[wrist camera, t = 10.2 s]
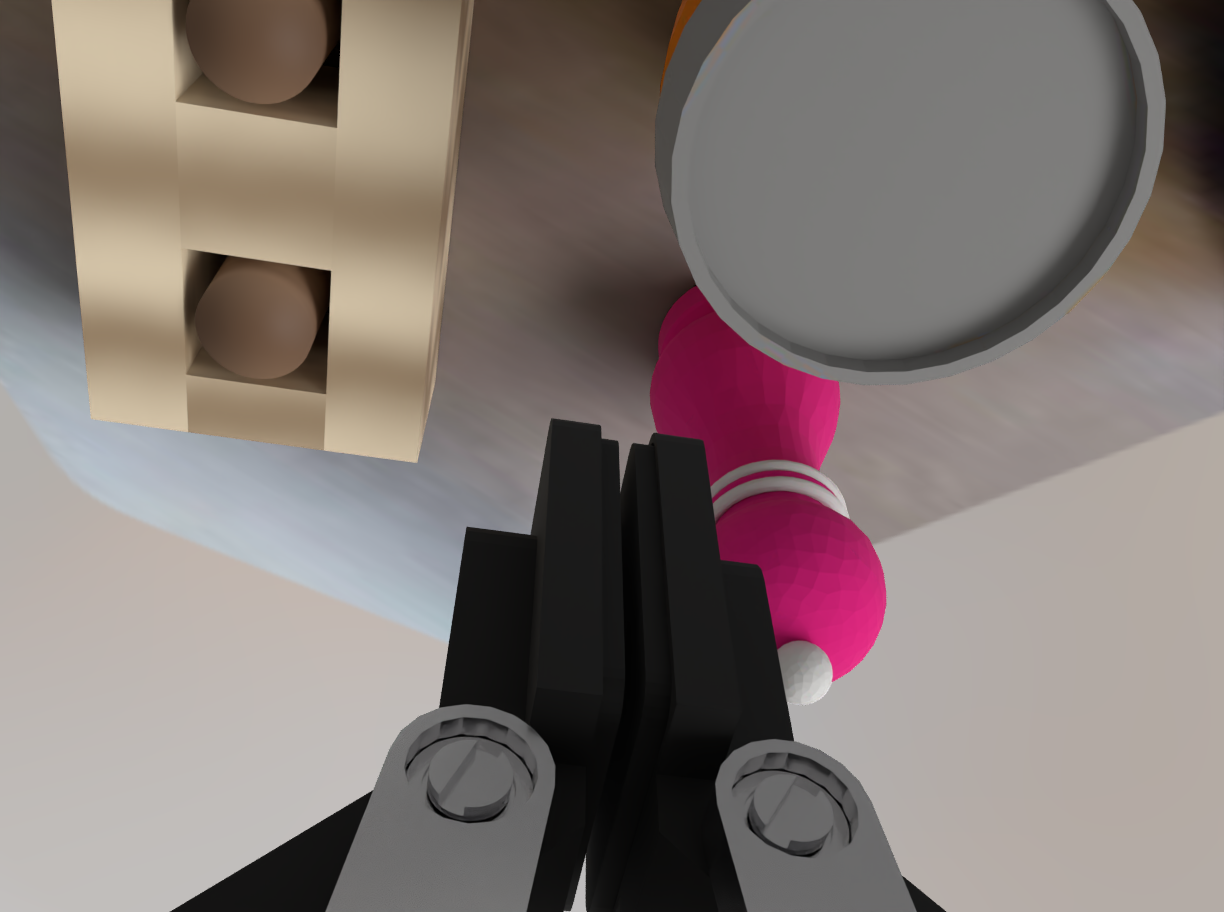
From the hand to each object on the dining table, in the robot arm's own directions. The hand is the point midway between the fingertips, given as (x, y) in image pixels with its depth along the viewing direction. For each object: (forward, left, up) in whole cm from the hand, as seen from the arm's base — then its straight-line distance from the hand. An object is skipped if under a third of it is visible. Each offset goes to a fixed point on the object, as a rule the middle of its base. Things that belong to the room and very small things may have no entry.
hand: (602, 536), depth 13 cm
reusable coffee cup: (+1, +8, -32) cm, 33 cm away
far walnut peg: (+13, -10, -32) cm, 36 cm away
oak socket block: (+8, -10, -32) cm, 35 cm away
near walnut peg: (+3, -10, -32) cm, 33 cm away
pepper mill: (+14, +8, -32) cm, 36 cm away
